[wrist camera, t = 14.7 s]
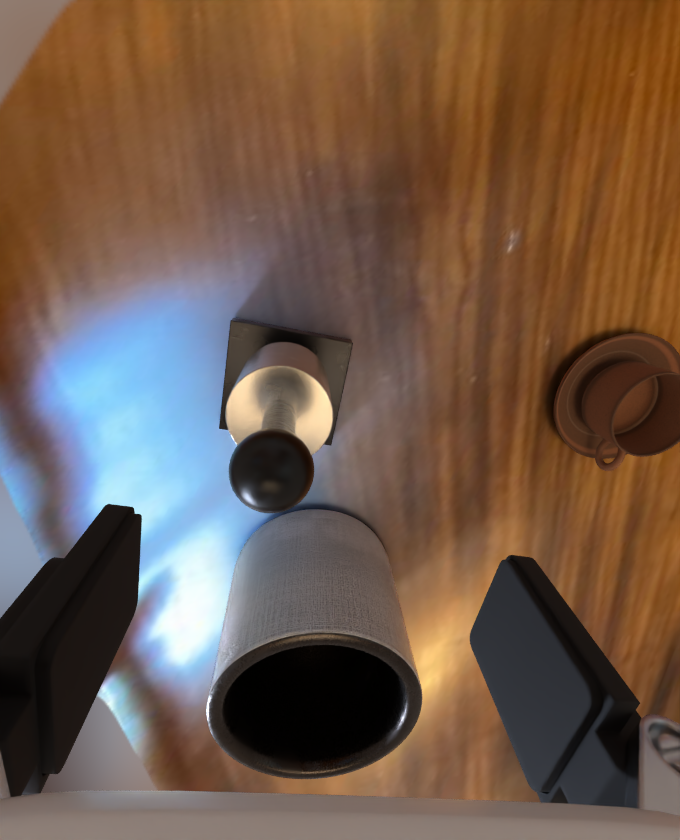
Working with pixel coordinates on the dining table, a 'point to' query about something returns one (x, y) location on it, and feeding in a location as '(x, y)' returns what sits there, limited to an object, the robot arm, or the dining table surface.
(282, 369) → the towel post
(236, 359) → the dark grey lever base
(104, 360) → the dining table surface
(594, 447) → the cup and saucer
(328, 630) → the planter
